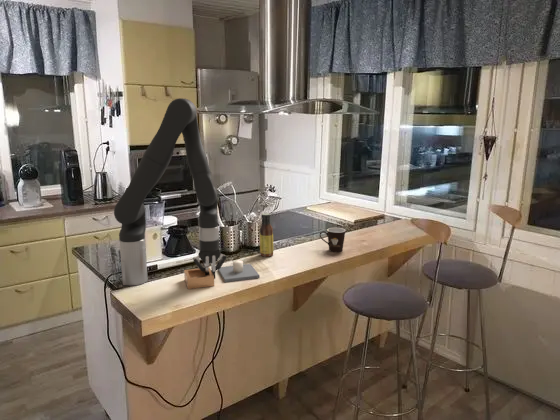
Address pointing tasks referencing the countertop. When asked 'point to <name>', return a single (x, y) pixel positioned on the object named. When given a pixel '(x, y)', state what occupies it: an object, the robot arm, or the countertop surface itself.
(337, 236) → the coffee mug
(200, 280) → the brown wooden open box
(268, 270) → the countertop surface
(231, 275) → the post base
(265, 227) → the sauce bottle
